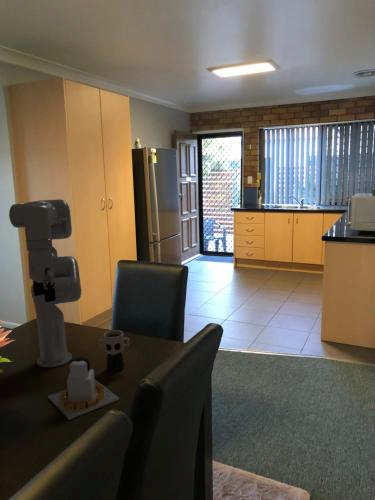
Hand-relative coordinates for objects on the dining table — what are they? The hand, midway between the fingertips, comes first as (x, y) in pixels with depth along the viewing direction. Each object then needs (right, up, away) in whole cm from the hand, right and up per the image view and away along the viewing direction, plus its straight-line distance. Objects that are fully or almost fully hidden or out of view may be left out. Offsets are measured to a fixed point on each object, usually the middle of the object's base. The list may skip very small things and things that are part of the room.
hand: (44, 298), depth 131 cm
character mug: (+20, -27, +17) cm, 38 cm away
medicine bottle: (+13, -30, -3) cm, 33 cm away
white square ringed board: (+13, -31, -3) cm, 34 cm away
